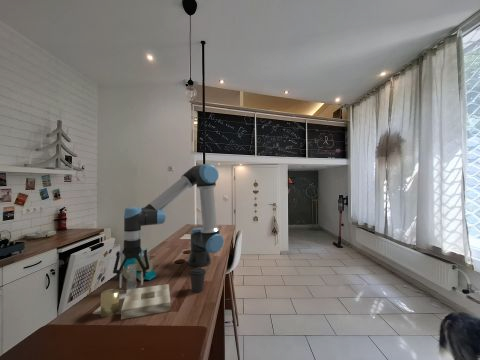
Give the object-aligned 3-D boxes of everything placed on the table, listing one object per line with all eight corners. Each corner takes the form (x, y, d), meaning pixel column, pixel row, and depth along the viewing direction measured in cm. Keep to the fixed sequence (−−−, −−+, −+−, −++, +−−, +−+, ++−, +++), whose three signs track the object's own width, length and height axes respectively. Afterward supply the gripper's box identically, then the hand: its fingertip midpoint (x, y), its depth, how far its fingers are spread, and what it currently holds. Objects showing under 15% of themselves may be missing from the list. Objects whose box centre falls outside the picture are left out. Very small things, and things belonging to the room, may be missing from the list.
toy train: (148, 282, 118) (149, 253, 119) (122, 278, 123) (123, 251, 123) (157, 276, 126) (158, 249, 127) (133, 273, 130) (133, 247, 131)
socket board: (168, 291, 108) (168, 283, 108) (170, 310, 91) (170, 302, 91) (127, 297, 102) (127, 289, 102) (121, 319, 85) (121, 310, 85)
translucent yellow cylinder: (120, 306, 94) (120, 287, 94) (117, 315, 88) (117, 294, 88) (102, 309, 92) (102, 290, 92) (98, 318, 86) (99, 297, 86)
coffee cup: (208, 287, 112) (208, 267, 112) (200, 295, 104) (200, 273, 104) (194, 285, 114) (194, 265, 115) (185, 292, 107) (185, 271, 107)
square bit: (136, 288, 111) (136, 263, 112) (135, 291, 108) (136, 266, 108) (127, 289, 110) (127, 264, 110) (126, 292, 106) (126, 267, 107)
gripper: (155, 235, 117) (155, 279, 116) (109, 238, 109) (108, 285, 109) (155, 238, 110) (154, 285, 109) (105, 242, 102) (104, 292, 102)
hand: (131, 285), depth 109 cm, fingers open, 9 cm apart
